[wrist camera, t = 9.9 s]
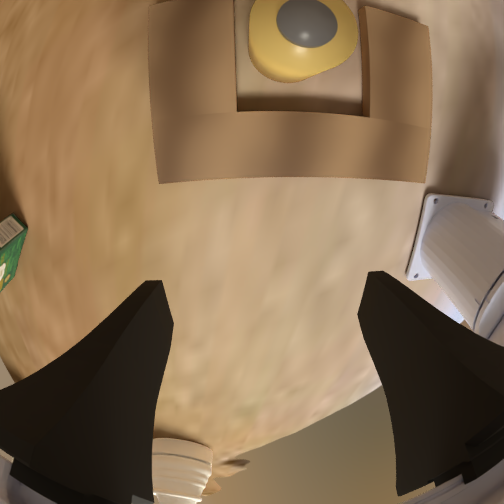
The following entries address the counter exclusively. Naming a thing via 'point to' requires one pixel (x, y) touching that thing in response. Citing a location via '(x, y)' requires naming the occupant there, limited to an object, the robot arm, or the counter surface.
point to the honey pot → (179, 470)
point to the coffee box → (10, 247)
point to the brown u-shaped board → (284, 122)
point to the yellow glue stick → (300, 37)
